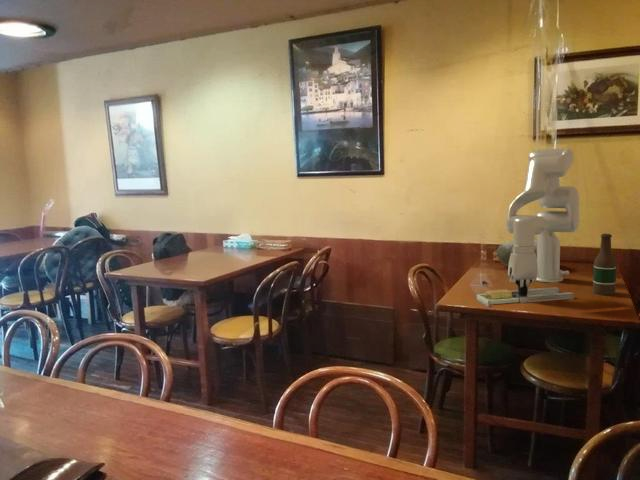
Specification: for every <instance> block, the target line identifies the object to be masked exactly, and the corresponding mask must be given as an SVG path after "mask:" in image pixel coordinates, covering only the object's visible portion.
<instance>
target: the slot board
mask: <svg viewBox="0 0 640 480" xmlns="http://www.w3.org/2000/svg"><path fill="white" fill-rule="evenodd" d="M559 290H560V288H559V287H558V286H557V287H556V286H553V287H540V288H528V292H527V296H519V294H518V289H512V290H510V291H511V292H512V298H519V302H518V303H520V304H524V303H532V302H533V303H535V302H547V301H548V302H549V301H558V300H559V301H561V300H574V299H575V297H574V296H575V295H574V293H573V292H571V291H570V292H568V291H567V292H559Z"/></svg>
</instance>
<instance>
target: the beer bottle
mask: <svg viewBox="0 0 640 480" xmlns="http://www.w3.org/2000/svg"><path fill="white" fill-rule="evenodd" d="M600 237H601V239H600V248H599V253H598V254H597V256H596V257H595V259H594V261H593V262H594V263H593V270H592V271H593V275H592V276H593V277H592V293H593V294H595V295H599V296H614V295H615V294H616V287H617V286H616V284H617V281H616V280H617V260H616V259H615V257H614V255H613V253H612V234H610V233H601V234H600ZM613 294H614V295H613Z"/></svg>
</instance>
